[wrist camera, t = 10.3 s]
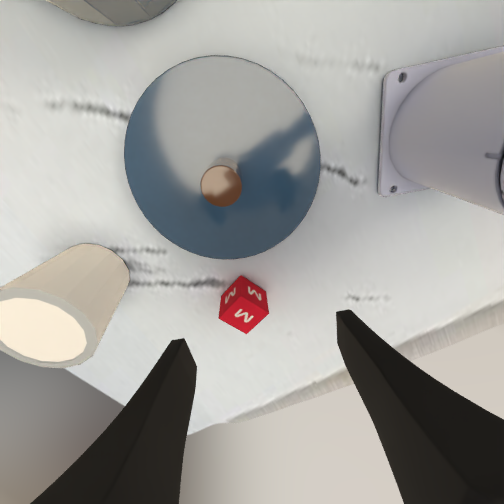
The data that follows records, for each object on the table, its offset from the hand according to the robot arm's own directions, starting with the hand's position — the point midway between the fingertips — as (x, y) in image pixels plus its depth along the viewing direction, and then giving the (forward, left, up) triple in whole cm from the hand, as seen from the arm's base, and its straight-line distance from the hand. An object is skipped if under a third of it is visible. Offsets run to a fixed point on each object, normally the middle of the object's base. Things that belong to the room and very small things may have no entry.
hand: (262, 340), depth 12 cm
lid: (+1, -6, -10) cm, 12 cm away
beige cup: (+14, 0, -11) cm, 17 cm away
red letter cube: (+2, +5, -11) cm, 12 cm away
